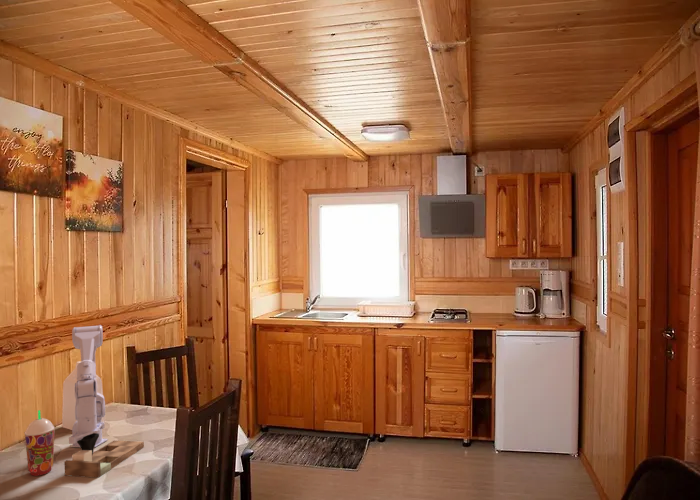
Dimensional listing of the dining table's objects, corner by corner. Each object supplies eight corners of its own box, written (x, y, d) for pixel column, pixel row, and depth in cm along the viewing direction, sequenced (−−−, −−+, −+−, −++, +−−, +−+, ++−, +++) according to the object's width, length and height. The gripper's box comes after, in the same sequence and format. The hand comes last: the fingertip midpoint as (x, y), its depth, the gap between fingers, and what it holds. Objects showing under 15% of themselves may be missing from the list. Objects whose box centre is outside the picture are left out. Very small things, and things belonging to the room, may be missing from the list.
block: (72, 467, 162) (72, 454, 162) (80, 462, 166) (80, 450, 166) (84, 467, 161) (83, 455, 161) (92, 462, 165) (91, 450, 165)
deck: (64, 475, 160) (64, 461, 160) (114, 446, 184) (113, 433, 184) (98, 477, 158) (98, 463, 158) (143, 447, 182) (143, 434, 182)
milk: (105, 423, 211) (103, 360, 211) (78, 431, 201) (76, 366, 201) (89, 418, 217) (87, 358, 217) (62, 427, 208) (60, 363, 208)
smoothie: (33, 480, 158) (32, 416, 158) (20, 474, 162) (18, 412, 162) (61, 469, 165) (59, 408, 165) (47, 464, 169) (45, 405, 169)
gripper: (82, 424, 159) (83, 467, 159) (111, 409, 173) (113, 449, 173) (62, 423, 160) (63, 466, 160) (93, 409, 174) (94, 448, 174)
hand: (88, 457), depth 167 cm, fingers closed
